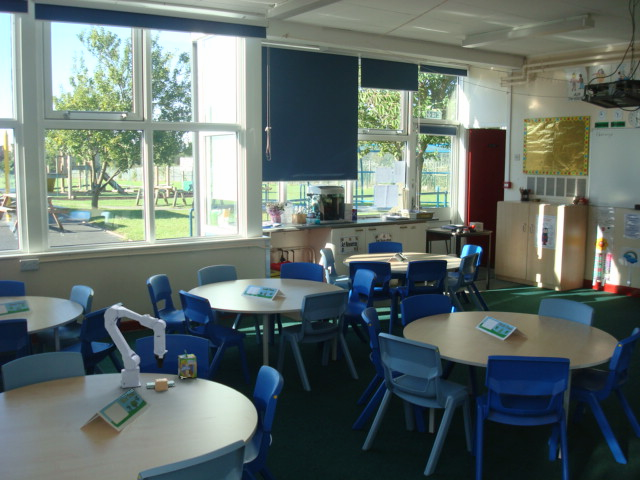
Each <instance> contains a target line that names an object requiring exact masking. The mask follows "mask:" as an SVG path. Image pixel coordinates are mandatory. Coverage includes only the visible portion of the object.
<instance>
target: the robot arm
mask: <svg viewBox="0 0 640 480" xmlns="http://www.w3.org/2000/svg"><path fill="white" fill-rule="evenodd" d="M123 317H126V318H128V319H132V320H133V321H134V320H135V321H137V322H139V324H140V325H141V326H144V327H146V328H149V329H151V330H153V333H154V335H153V345H154V346H153V348H154V349H153V353H154V355H153V356H154V358H155V361H156V366H157V369H163V367H164V361H165V359H166V356H167V355H166V353H168V351H169V350H166V327H167V323H166V321H165V320H164V319H161V318H160V319H159V318H157V317H156V318H155V317H152V316H151V315H150V314H149V313H148V314H143V315H141V314H139V313H137V312H135V311H133V310H130V309H128V308H127V307H125V306H121V305H118V304H114V305H112V306H110V307H108V308H107V309H106V310H105V311H104V315H103V318H104V328H105V330H106V331H107V332H108V335H109V336H110V337H111V339H112V341H113V342H114V344H115V345H116V348H117V349H118V350H119V353H120V354H121V359H122V361H123V367H124V368H123V369H121V373H120V374H121V377H120V378H121V380H120V384H121V388H122V389H124V388H134V387H141V385H142V384H141V381H140V366H139V365H140V363H141V357H140V356H139V355H138V354H136V352H135V351H134V350H132V349H131V347H130V345H129V344H128V343H127V341H126V339H125V337H124V336H123V334H122V332H121V331H120V329H119V328H118V325H117V322H118V319H120V318H123Z"/></svg>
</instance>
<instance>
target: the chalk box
mask: <svg viewBox="0 0 640 480" xmlns="http://www.w3.org/2000/svg"><path fill="white" fill-rule="evenodd" d="M184 353H185V354H180V355H179V354H178V355H177V367H178V368H177V371H178V372H177V374H178V377H179V376H183V377H192V379H194V378H198V372H197V371H198V369H197V367H198V366H197V356H196V354H194V353H191V354H190V353H189V354H188V353H187V350H186V349H184Z"/></svg>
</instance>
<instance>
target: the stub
mask: <svg viewBox="0 0 640 480" xmlns="http://www.w3.org/2000/svg"><path fill="white" fill-rule="evenodd" d="M168 381H169V380H168V379H167V377H166V378H165V377H164V378H155V379H154V382H155V388H154V390H155V392H160V391H168V389H169V387H168Z"/></svg>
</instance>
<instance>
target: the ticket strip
mask: <svg viewBox="0 0 640 480" xmlns="http://www.w3.org/2000/svg"><path fill="white" fill-rule="evenodd" d="M167 381H168V386H172V387H174V386H175V381H174V380H167ZM145 385H147V386H146V389H147V388H150V389H155V388H154V387H155V381H153V382H146V384H145ZM173 385H174V386H173Z"/></svg>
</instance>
